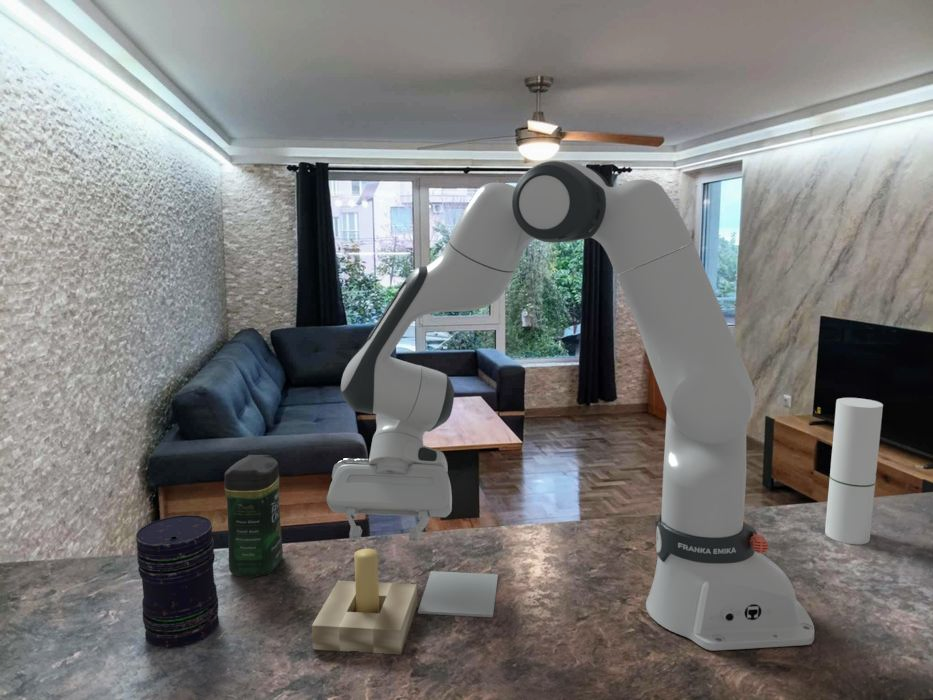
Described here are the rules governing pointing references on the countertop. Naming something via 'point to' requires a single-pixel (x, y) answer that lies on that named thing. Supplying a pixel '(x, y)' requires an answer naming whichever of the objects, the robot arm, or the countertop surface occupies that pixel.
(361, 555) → the peg
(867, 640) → the countertop surface
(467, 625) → the countertop surface
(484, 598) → the mat
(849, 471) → the cylindrical container
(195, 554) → the dark blue cylinder
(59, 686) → the countertop surface
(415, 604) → the hole block
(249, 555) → the coffee jar
